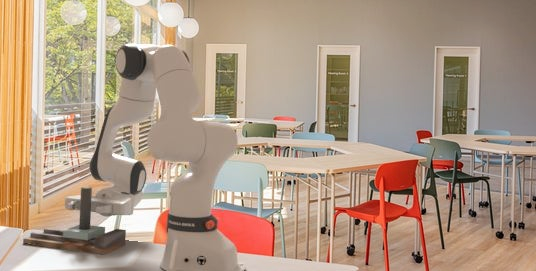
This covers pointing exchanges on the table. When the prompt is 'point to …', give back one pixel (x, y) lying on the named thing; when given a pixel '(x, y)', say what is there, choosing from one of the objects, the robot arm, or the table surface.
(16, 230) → the table surface
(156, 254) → the table surface
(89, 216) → the carriage
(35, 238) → the rail board
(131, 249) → the table surface
